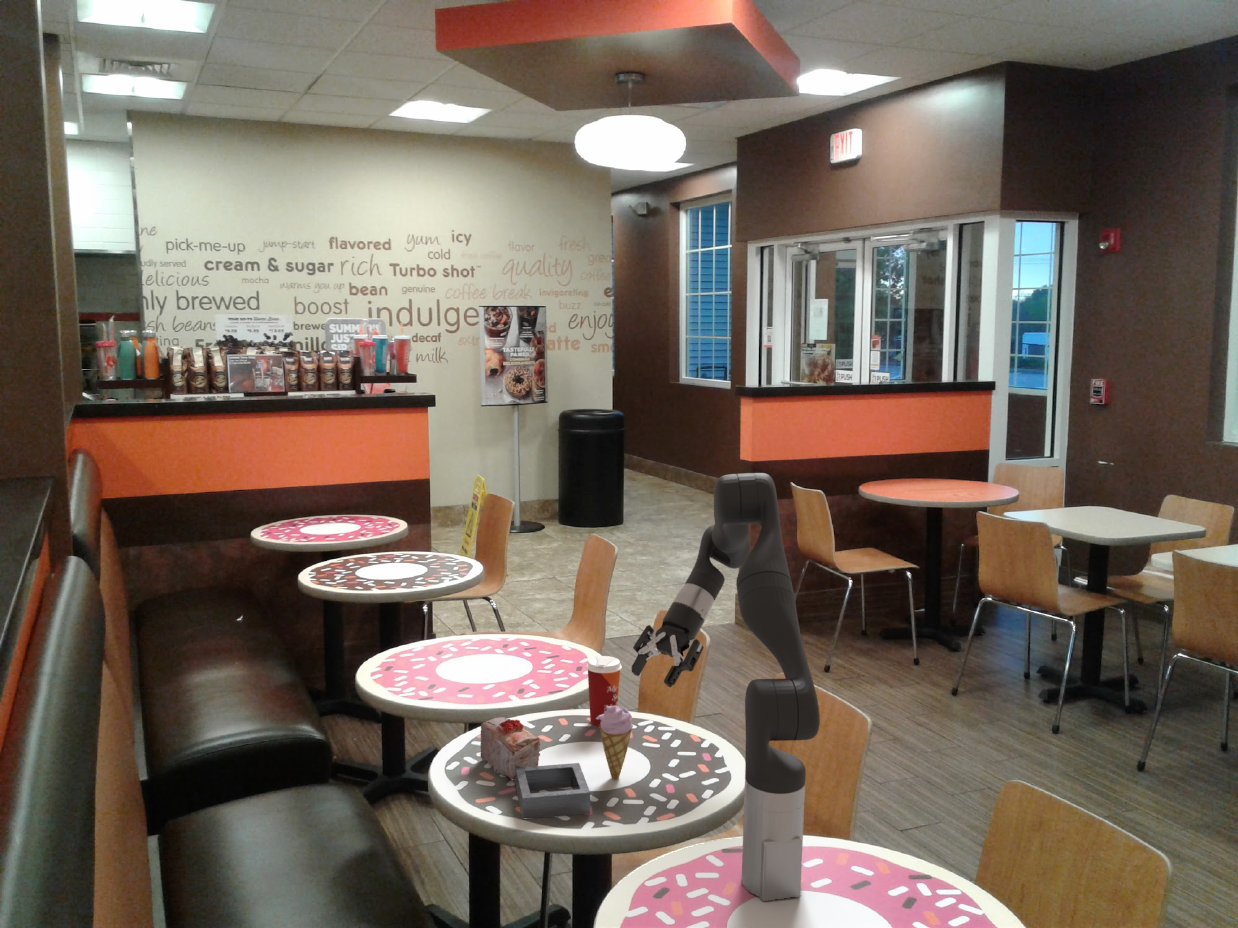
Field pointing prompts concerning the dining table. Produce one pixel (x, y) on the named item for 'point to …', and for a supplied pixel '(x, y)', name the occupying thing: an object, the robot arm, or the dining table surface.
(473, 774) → the dining table surface
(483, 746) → the food item
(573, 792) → the hollow square frame
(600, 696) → the paper cup
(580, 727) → the dining table surface
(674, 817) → the dining table surface
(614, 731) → the ice cream cone
